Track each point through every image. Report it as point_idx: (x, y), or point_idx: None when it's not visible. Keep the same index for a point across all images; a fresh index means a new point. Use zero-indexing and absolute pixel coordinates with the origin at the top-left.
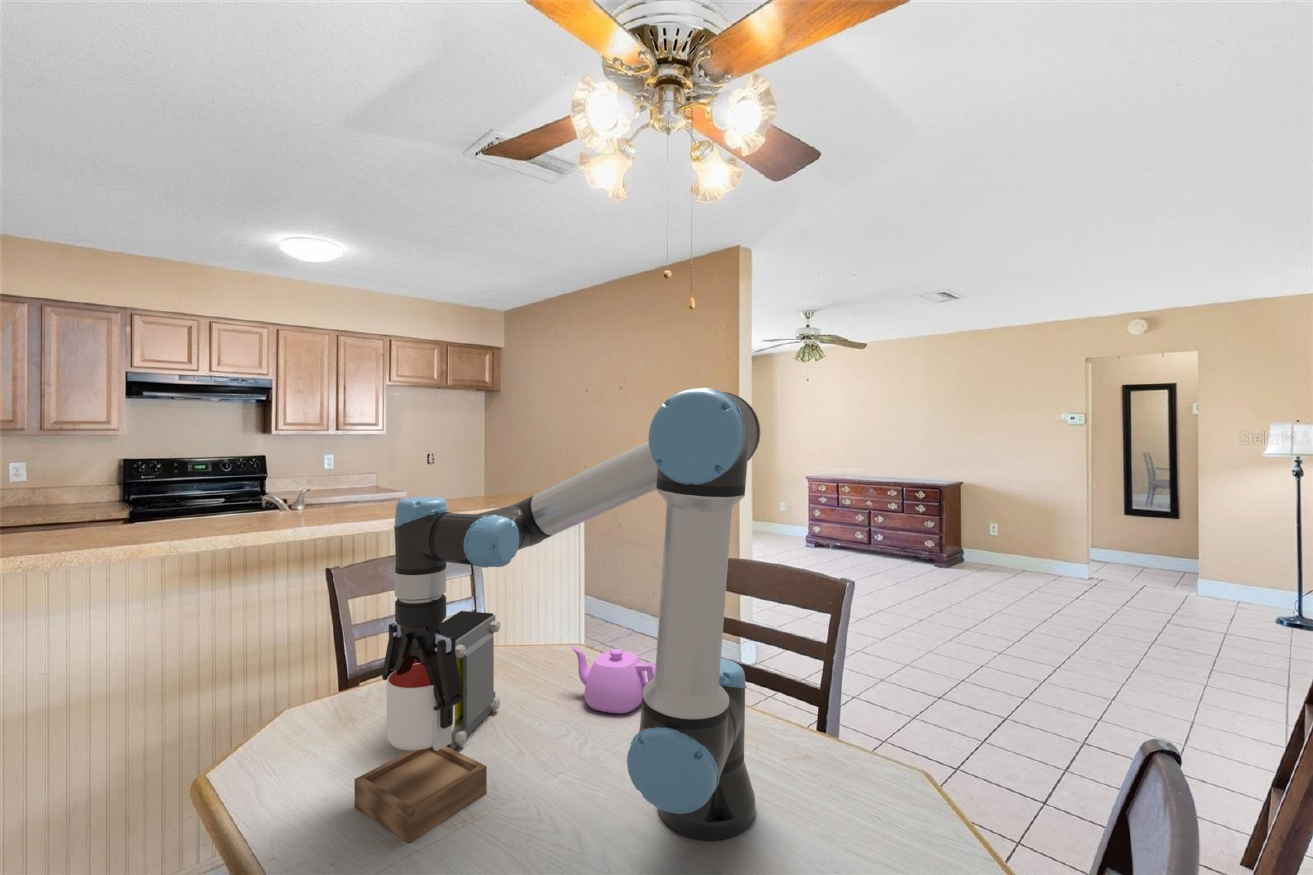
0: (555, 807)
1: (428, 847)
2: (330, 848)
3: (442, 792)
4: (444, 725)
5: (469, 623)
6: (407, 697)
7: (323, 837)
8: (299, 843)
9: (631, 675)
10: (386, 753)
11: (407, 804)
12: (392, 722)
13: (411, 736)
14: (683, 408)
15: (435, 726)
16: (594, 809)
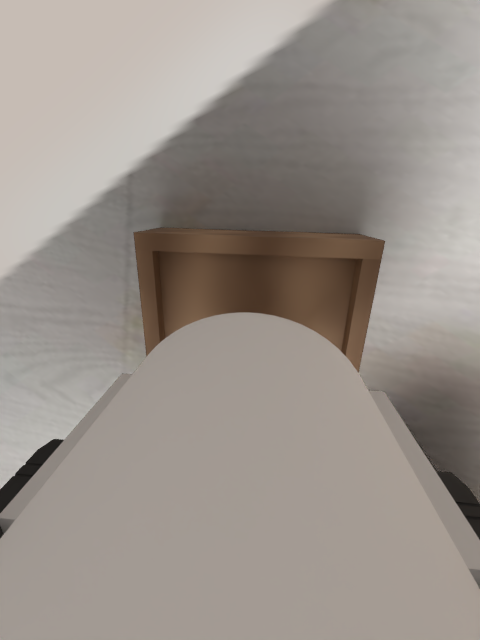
0: (57, 415)
1: (122, 241)
2: (282, 115)
3: (143, 323)
4: (40, 451)
5: None
6: (21, 542)
7: (331, 127)
8: (364, 76)
9: None
10: (460, 386)
11: (163, 250)
12: (243, 354)
13: (154, 355)
14: None
15: (78, 433)
16: (13, 436)
